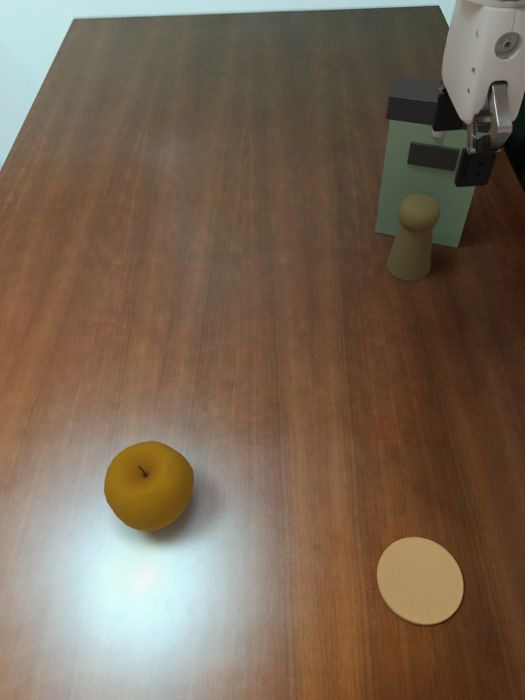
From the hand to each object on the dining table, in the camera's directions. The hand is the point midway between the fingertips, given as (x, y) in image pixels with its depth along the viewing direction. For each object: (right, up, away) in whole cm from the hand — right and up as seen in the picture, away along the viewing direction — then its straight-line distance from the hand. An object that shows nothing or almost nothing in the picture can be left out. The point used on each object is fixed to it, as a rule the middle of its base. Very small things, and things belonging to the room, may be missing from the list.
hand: (457, 155), depth 60 cm
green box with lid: (+3, -2, +26) cm, 26 cm away
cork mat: (-5, -42, -5) cm, 43 cm away
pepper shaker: (0, -8, +21) cm, 23 cm away
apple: (-31, -37, +1) cm, 48 cm away
